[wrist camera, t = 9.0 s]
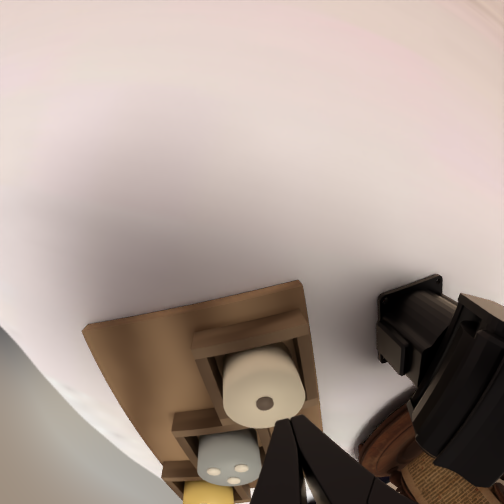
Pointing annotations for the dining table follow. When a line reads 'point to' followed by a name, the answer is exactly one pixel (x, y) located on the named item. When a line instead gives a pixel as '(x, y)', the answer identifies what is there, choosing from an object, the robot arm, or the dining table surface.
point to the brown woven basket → (418, 467)
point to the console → (198, 370)
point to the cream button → (261, 386)
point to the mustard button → (207, 493)
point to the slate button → (229, 457)
